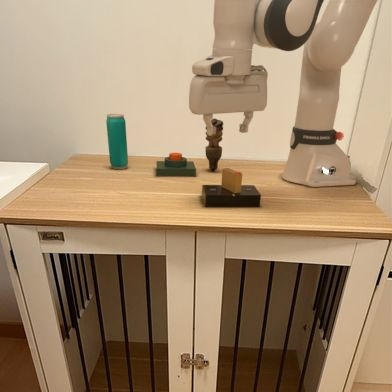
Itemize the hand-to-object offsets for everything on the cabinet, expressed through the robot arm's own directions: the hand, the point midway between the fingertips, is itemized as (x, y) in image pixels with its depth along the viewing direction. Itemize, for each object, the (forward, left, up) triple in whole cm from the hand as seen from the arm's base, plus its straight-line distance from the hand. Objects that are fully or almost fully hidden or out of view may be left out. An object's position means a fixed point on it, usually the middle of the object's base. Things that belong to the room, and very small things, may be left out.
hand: (227, 133), depth 100 cm
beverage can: (+30, -32, -16) cm, 46 cm away
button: (+12, -27, -12) cm, 31 cm away
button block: (+12, -27, -15) cm, 33 cm away
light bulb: (0, -29, -16) cm, 33 cm away
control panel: (-1, +3, -15) cm, 16 cm away
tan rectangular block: (-1, +3, -12) cm, 13 cm away
